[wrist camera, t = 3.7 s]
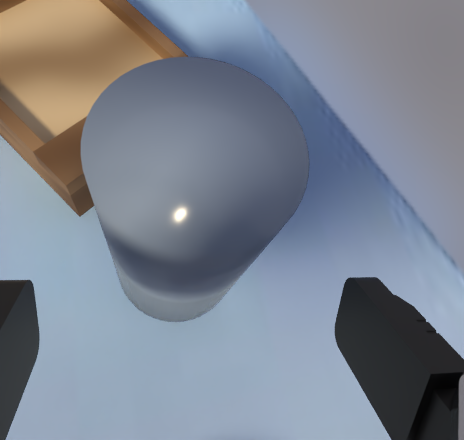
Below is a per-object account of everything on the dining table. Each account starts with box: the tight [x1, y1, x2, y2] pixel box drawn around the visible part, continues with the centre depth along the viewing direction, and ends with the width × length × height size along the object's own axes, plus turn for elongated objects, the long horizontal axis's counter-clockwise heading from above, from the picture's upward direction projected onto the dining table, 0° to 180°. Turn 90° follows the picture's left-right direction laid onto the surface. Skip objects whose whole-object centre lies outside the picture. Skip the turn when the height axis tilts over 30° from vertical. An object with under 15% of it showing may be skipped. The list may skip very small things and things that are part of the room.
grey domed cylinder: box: [81, 57, 309, 322], centre depth 15 cm, size 6×6×11 cm
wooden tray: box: [0, 0, 188, 216], centre depth 21 cm, size 12×9×4 cm
